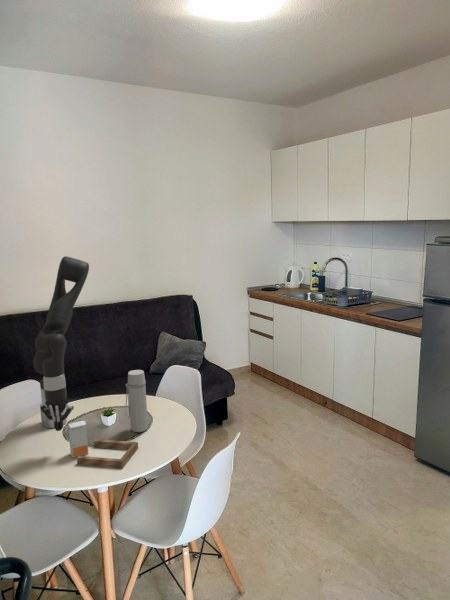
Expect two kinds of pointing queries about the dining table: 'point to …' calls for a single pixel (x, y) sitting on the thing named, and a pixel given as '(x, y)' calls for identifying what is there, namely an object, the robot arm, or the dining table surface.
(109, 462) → the brown wooden frame
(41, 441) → the dining table surface
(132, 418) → the water bottle
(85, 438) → the skincare box
